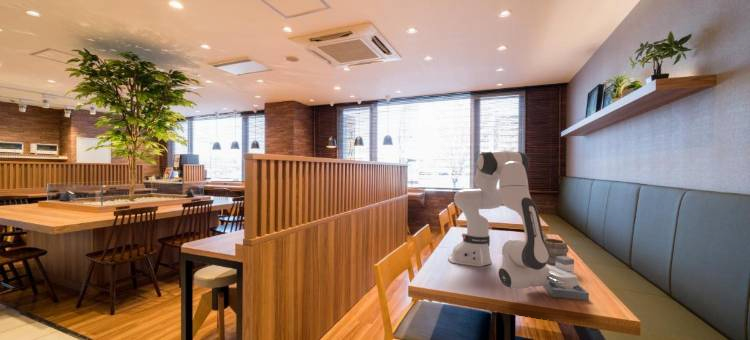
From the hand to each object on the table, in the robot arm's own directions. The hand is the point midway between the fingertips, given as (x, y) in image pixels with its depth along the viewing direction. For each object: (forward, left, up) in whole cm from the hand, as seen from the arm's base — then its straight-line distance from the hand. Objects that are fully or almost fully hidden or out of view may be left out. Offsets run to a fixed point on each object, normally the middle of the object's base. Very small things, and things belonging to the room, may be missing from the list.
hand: (566, 271), depth 124 cm
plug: (-1, 0, -6) cm, 7 cm away
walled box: (-1, 0, -9) cm, 9 cm away
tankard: (+5, +34, -9) cm, 35 cm away
